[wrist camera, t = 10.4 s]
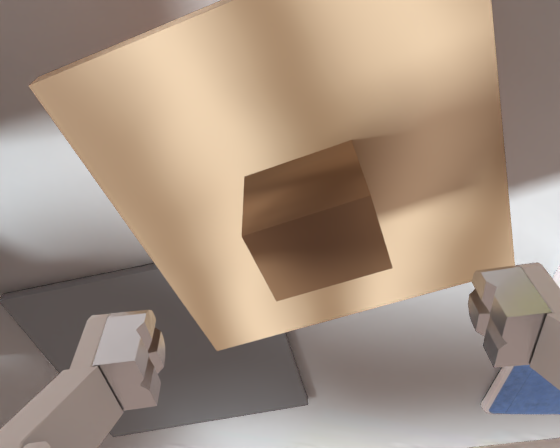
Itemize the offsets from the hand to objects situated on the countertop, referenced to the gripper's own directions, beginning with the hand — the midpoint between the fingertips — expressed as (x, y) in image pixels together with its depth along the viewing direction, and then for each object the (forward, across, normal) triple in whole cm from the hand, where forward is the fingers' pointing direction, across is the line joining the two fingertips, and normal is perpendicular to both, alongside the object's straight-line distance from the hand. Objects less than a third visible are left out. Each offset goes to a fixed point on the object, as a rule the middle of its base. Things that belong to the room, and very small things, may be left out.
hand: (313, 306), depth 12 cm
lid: (+7, 0, +1) cm, 7 cm away
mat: (+13, +10, +17) cm, 23 cm away
